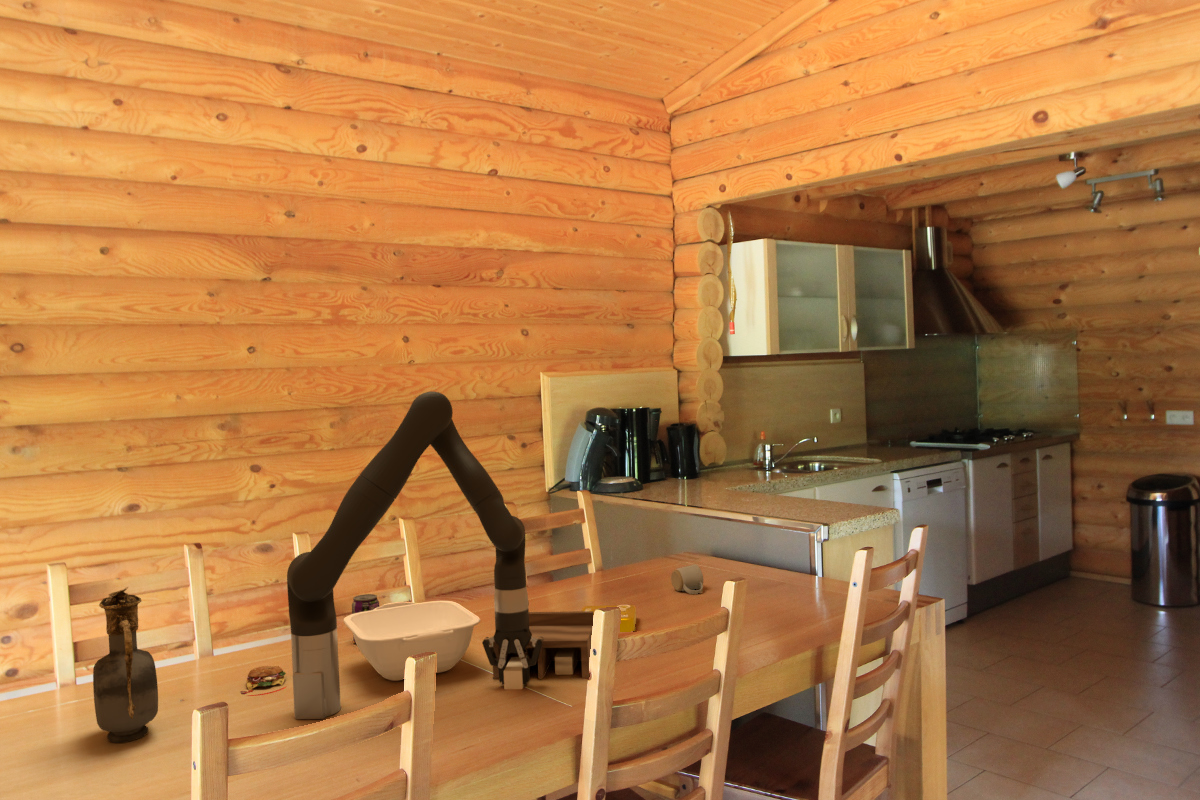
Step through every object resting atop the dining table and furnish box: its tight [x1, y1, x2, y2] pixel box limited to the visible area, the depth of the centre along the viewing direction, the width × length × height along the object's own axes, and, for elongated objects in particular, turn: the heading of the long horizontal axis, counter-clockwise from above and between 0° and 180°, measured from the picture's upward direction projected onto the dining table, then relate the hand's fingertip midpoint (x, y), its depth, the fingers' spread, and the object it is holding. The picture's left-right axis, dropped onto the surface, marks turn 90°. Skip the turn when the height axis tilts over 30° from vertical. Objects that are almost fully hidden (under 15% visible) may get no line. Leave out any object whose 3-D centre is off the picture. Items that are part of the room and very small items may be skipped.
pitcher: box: [92, 586, 159, 744], centre depth 177 cm, size 11×19×30 cm, turn 33°
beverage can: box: [351, 593, 380, 643], centre depth 238 cm, size 7×7×12 cm
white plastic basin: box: [343, 600, 481, 682], centre depth 213 cm, size 34×28×13 cm
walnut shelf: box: [492, 610, 594, 680], centre depth 210 cm, size 14×22×12 cm, turn 84°
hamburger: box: [240, 665, 287, 697], centre depth 206 cm, size 14×14×6 cm
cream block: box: [503, 657, 525, 690], centre depth 202 cm, size 10×4×4 cm, turn 176°
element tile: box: [581, 604, 637, 632], centre depth 244 cm, size 15×15×5 cm
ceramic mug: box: [670, 564, 704, 595], centre depth 280 cm, size 11×8×8 cm
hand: (514, 683), depth 199 cm, fingers closed on cream block, 4 cm apart
